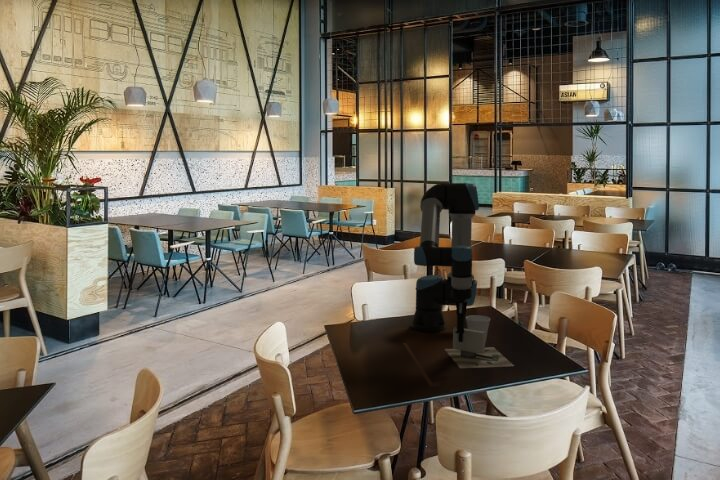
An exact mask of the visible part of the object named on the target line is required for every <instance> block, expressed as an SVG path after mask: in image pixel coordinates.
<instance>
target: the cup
mask: <svg viewBox="0 0 720 480" xmlns="http://www.w3.org/2000/svg"><path fill="white" fill-rule="evenodd" d="M465 321H466V326H467V329H471V330H477V331H483V332H485V343H486V342H487V336H488V331H489V327H490V321H491V318H490V317H489V316H486V315H479V314H477V315H475V314H474V315H466V316H465Z"/></svg>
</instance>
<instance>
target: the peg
mask: <svg viewBox="0 0 720 480" xmlns="http://www.w3.org/2000/svg"><path fill="white" fill-rule="evenodd" d="M452 331H453V332H452V349H457V333H455V331H457V326H454V327H453V328H452ZM464 333H465V345H464V350H461V353H460V356H461V357H463V358H475V357H483V358H488V359H493V357H491V356H486V355H480V354H484V353H485V348H486V342H485V332H483V331H477V330H471V329H468V328H467V329H465V328H464ZM477 353H479V354H477Z"/></svg>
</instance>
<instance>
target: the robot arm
mask: <svg viewBox="0 0 720 480" xmlns="http://www.w3.org/2000/svg"><path fill="white" fill-rule="evenodd" d="M479 203H480V202H479V195H478V189H477V186H476V184H475V183H469V182H467V183H466V182H464V183H463V182H451V183H450V182H449V183H448V182H440V183H437V184H434V185H432V186H431V187H430V188H428V189H427V190H426V191H425V193H424V194H423V195H422V198H421V200H420V206H419V207H420V210H421V226H420V227H421V228H420V238H419V239H420V241H419V246H415V247H414V250H413V263H414V265H415V266H421V267H422V266H423V267H448V268H449V267H450V272H449V273H448V274H447V279H446V278H445V279H444V277H443V275H440V274H431V275H424V276H421V277H419V278H417V279H416V284H415V290H416V292H415V312H414V315H413V317H412V321H411V329H413V330H415V331H420V332H424V333H425V332H427V333H432V332H440V331H444V330H445V329H446V321H445V320H446V319H445V317H444V314H443V306H451V307H452V306H455V308H456V317H457V318H456V323H457V324H456V327H457V331H455V333H457V350H464V345H465V333H464V328H465V329H468V327H467V322H466V316H467V307H470V306H473V305H474V303H475V301H476V295H477V290H478V289H477V287H478V280H477V279H475V276H474V274H473V257H474V256H473V248H472V227H473V226H472V225H473V224H472V223H473V217H475V215H476V211H479V209H480V205H479ZM443 210H444V211H445V210H446V211H447V210H448V215H449V216H450V217H451V246H439V245H440V225H441V223H440V222H441V212H442V211H443Z"/></svg>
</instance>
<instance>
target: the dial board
mask: <svg viewBox="0 0 720 480" xmlns="http://www.w3.org/2000/svg"><path fill="white" fill-rule="evenodd" d="M444 351H445V352H446V353H447V354H448V355H449V357H450V358H451V359H452V360H453V362H454V363H455V365H457V367H458V368H459V369H476V368H477V369H480V368H502V367H504V368H505V367H515V364H513V363H512V362H511V361H510V360H509V359H507V358H506V357H505V356H504V355H503V354H502V353H501V352H499V350H497V349H496V348H495V347H494V346H490V347H486V346H485V353H484V354H480V355H486V356H491V357H493V359H488V358H483V357H475V358H463V357H461V356H460V353H461V350H457V349H453V348H445V349H444ZM477 354H479V353H477Z"/></svg>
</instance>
